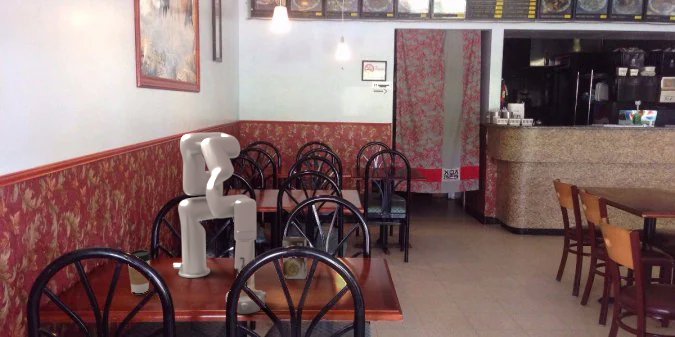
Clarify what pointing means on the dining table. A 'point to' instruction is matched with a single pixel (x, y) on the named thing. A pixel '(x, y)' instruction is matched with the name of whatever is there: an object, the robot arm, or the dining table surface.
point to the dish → (249, 303)
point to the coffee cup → (136, 278)
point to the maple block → (249, 285)
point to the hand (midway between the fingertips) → (245, 282)
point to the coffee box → (295, 260)
